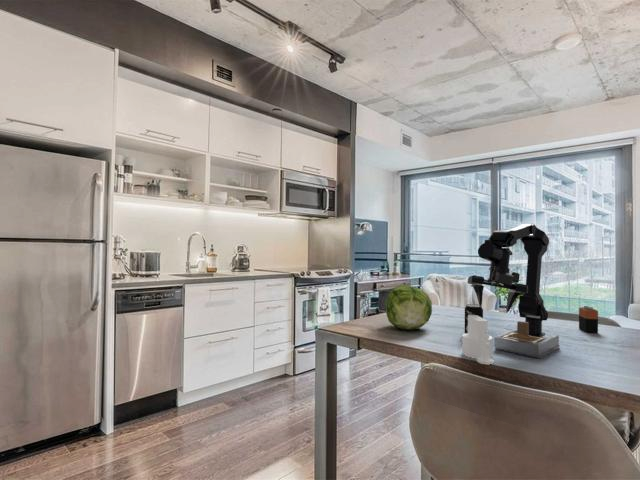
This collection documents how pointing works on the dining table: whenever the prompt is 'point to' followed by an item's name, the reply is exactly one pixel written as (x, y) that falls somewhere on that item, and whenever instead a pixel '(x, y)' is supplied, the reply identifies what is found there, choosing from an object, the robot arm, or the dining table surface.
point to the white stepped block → (475, 338)
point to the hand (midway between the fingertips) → (493, 308)
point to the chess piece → (485, 351)
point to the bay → (527, 345)
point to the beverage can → (472, 313)
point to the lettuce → (408, 307)
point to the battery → (588, 319)
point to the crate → (523, 334)
